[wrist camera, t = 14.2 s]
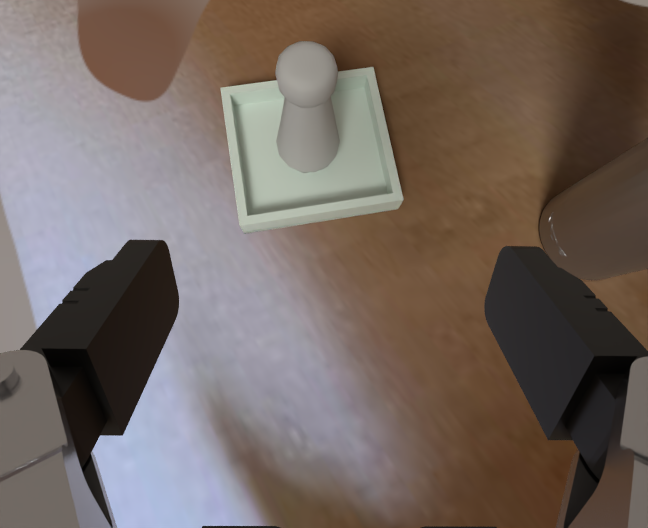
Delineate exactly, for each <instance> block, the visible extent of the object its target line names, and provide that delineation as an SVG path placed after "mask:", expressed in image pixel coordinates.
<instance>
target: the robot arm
mask: <svg viewBox="0 0 648 528" xmlns="http://www.w3.org/2000/svg"><path fill="white" fill-rule="evenodd" d="M539 233H540V238H541V242H542V245H543V247H544V249H545V251H546V253H547V254H548V255H547V254H546V253H545V252H544V251H543V250H542V249H541V248H540V247H526V246H505V247H503V248H502V250H501V251H500V253H499V255H498V259H497V262H496V265H495V268H494V272H493V275H492V278H491V281H490V285H489V288H488V291H487V294H486V298H485V317H486V320H487V323H488V325H489V327H490V329H491V331H492V333H493V335H494V336H495V338H496V340H497V342H498V344H499V346H500V348H501V350H502V352H503V354H504V356H505V358H506V360H507V362H508V363H509V365H510V367H511V369H512V371H513V373H514V375H515V377H516V379H517V381H518V383H519V385H520V387H521V388H522V390H523V392H524V394H525V396H526V398H527V400H528V402H529V404H530V406H531V408H532V410H533V412H534V414H535V415H536V417H537V419H538V421H539V423H540V425H541V427H542V429H543V431H544V433H545V435H546V437H547V439H548V440H573V441H574V443H575V444H576V446H577V448H578V450H577V452H576V453H575V455H574V456H573V459H572V462H571V466H570V471H569V475H568V479H567V483H566V487H565V492H564V496H563V500H562V504H561V508H560V513H559V517H558V521H557V525H556V528H648V351H647V350H646V349H645V348H644V347H643V346H642V345H641V343H640V342H639V341H638V340H637V339H636V338H635V337H634V336H633V335H632V334H631V333H630V332H629V331H628V330H627V329H626V327H625V326H624V325H623V324H622V323H621V322H620V321H619V320H618V319H617V318H616V317H615V316H614V315H613V314H612V312H608V311H607V309H608V308H607V307H606V306H605V305H604V304H603V303H602V302H601V301H600V300H599V299H596V298H595V296H596V295H595V294H594V293H593V292H592V291H591V290H590V289H589V288H588V287H587V286H586V285H585V284H584V283H583V281H582V280H580V279H578V278H581V279H585V280H601V279H606V278H610V277H614V276H619V275H623V274H627V273H631V272H636V271H640V270H645V269H648V138H647V139H645V140H644V141H642V142H641V143H639V144H637V145H636V146H634V147H633V148H631V149H629V150H628V151H626V152H625V153H623V154H622V155H620V156H618V157H617V158H615V159H614V160H612V161H610V162H609V163H607V164H606V165H604V166H602V167H601V168H599V169H598V170H596V171H595V172H593V173H591V174H590V175H588V176H587V177H585V178H583V179H582V180H580V181H578V182H577V183H575V184H574V185H572V186H571V187H569V188H567V189H566V190H564V191H563V192H561V193H560V194H558V195H557V196H555V197H554V198H552V199H551V200H550V202H549V203H548V204H547V205H546V207H545V208H544V210H543V212H542V215H541V219H540V225H539ZM549 257H550V258H549ZM557 266H558V267H559V268H558V267H557ZM62 301H63V303H62V304H59V305H58V306H57V307H56V308H55V310H54V311H53V312H52V313H51V314H50V315H49V316H48V318H47V319H46V320H45V321H44V322H43V323H42V325H41V326H40V327H39V328H38V329H37V330H36V332H35V333H34V334H33V335H32V336H31V337H30V339H29V340H28V341H27V342H26V343H25V344H24V345H23V347H22V348H21V349H20V350H16V351H9V352H4V353H0V528H117V526H116V523H115V519H114V516H113V513H112V510H111V507H110V503H109V500H108V497H107V494H106V491H105V487H104V484H103V481H102V478H101V474H100V471H99V468H98V465H97V462H96V458H95V456H94V454H93V452H92V450H93V448H94V446H95V444H96V442H97V440H98V438H99V436H100V435H123V434H124V431H125V429H126V427H127V425H128V423H129V421H130V418H131V416H132V414H133V412H134V410H135V407H136V405H137V403H138V401H139V399H140V396H141V394H142V392H143V390H144V388H145V385H146V383H147V381H148V379H149V377H150V374H151V372H152V370H153V368H154V366H155V364H156V361H157V359H158V357H159V355H160V353H161V350H162V348H163V346H164V344H165V342H166V339H167V337H168V335H169V333H170V331H171V328H172V326H173V324H174V322H175V320H176V317H177V314H178V308H179V294H178V289H177V285H176V280H175V276H174V271H173V267H172V262H171V258H170V253H169V249H168V246H167V244H166V243H165V241H163V240H129V241H128V242H127V243H126V244H125V245H124V246H123V247H122V249H121V250H120V251H119V252H118V254H117V255H116V256H115V257H114V259H113V260H106V261H104V262H103V263H101V264H100V265H98V266H96V267H95V268H93V269H92V270H90V271H88V272H87V273H86V274H85V275H84V276H83V277H82V278H81V279H80V281H79V282H78V283H77V284H76V285H75V286H74V288H73V291H70V292H69V293H68V295H67V296H66V297H65V298H64V299H63V300H62ZM202 528H280V527H276V526H202ZM422 528H497V527H422Z"/></svg>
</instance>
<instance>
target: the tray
mask: <svg viewBox="0 0 648 528" xmlns="http://www.w3.org/2000/svg"><path fill="white" fill-rule="evenodd" d="M221 95H222V102H223V109H224V117H225V124H226V131H227V138H228V146H229V153H230V160H231V167H232V174H233V182H234V189H235V196H236V203H237V211H238V218H239V225H240V227H241V229H242V231H243V232H244V234H246V233H252V232H258V231H264V230H271V229H277V228H283V227H289V226H296V225H302V224H308V223H314V222H321V221H327V220H333V219H339V218H345V217H352V216H358V215H364V214H370V213H377V212H383V211H389V210H395V209H398V208H399V206H400V205H401V203H402V201H403V195H402V191H401V186H400V182H399V178H398V173H397V169H396V165H395V160H394V156H393V151H392V147H391V143H390V138H389V134H388V129H387V125H386V121H385V116H384V112H383V107H382V103H381V99H380V94H379V90H378V86H377V81H376V77H375V72H374V68H373V67H368V68H361V69H354V70H347V71H339V72H338V78H337V83H336V87H335V91H334V93H333V94H332V95H331V100H332V105H333V110H334V115H335V120H336V125H337V130H338V135H339V140H340V142H339V147H338V151H337V155H336V157H335V158H334V159H333V161H332V162H331V163H330V164H329V165H328V167H326V168H324V169H322V170H319V171H316V172H309V173H302V172H300V171H298V170H296V169H293V168H291V167H289V166H288V165H287V164H286V162H285V161H284V160H283V159H282V158H281V157H280V155H279V152H278V148H277V143H276V140H277V135H278V130H279V126H280V121H281V115H282V109H283V104H284V98H285V97H284V96H283V95H282V94H281V92H280V91H279V87H278V82H277V80H274V81H267V82H260V83H252V84H245V85H238V86H231V87H223V88H221Z"/></svg>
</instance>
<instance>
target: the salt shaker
mask: <svg viewBox="0 0 648 528" xmlns="http://www.w3.org/2000/svg"><path fill="white" fill-rule="evenodd" d="M275 74H276V78H277V82H278V87H279V91H280V92H281V94H282V95H283V96H284V97H285V98H284V104H283V109H282V115H281V121H280V126H279V130H278V135H277V140H276V143H277V148H278V152H279V155H280V157H281V158H282V159H283V160H284V161H285V162H286V164H287V165H288V166H289V167H291V168H293V169H296V170H298V171H300V172H302V173H309V172H316V171H319V170H322V169H324V168H326V167H328V165H329V164H330V163H331V162H332V161H333V159H334V158H335V157H336V155H337V151H338V147H339V142H340V140H339V135H338V130H337V125H336V120H335V115H334V110H333V105H332V100H331V95H332V94H333V93H334V91H335V87H336V83H337V78H338V69H337V65H336V62H335V58H334V56H333V54H332V53H331V52H330V51H329V50H328V49H327V48H326V47H325V46H323V45H320V44H318V43H315V42H308V41H299V42H297V43H295V44H292V45H290V46H288V47H287V48H286V49H285V50H284V51H283V52H282V53H281V54H280V55H279V58H278V62H277V66H276V73H275Z"/></svg>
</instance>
